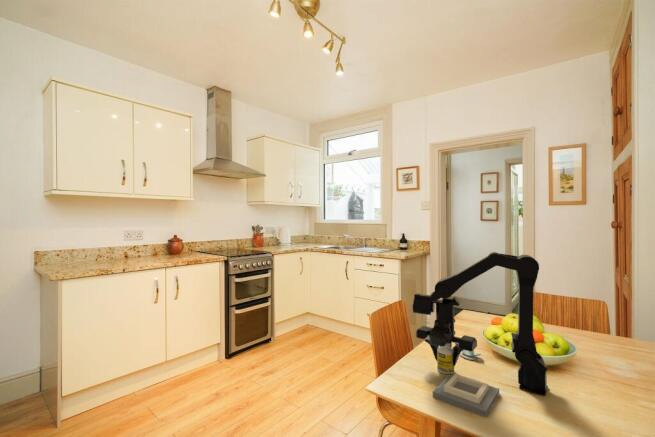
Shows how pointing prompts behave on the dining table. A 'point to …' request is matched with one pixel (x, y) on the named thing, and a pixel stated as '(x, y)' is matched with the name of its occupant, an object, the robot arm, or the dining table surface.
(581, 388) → the dining table surface
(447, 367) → the supplement bottle
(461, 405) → the plate
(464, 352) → the pacifier
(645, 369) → the dining table surface
